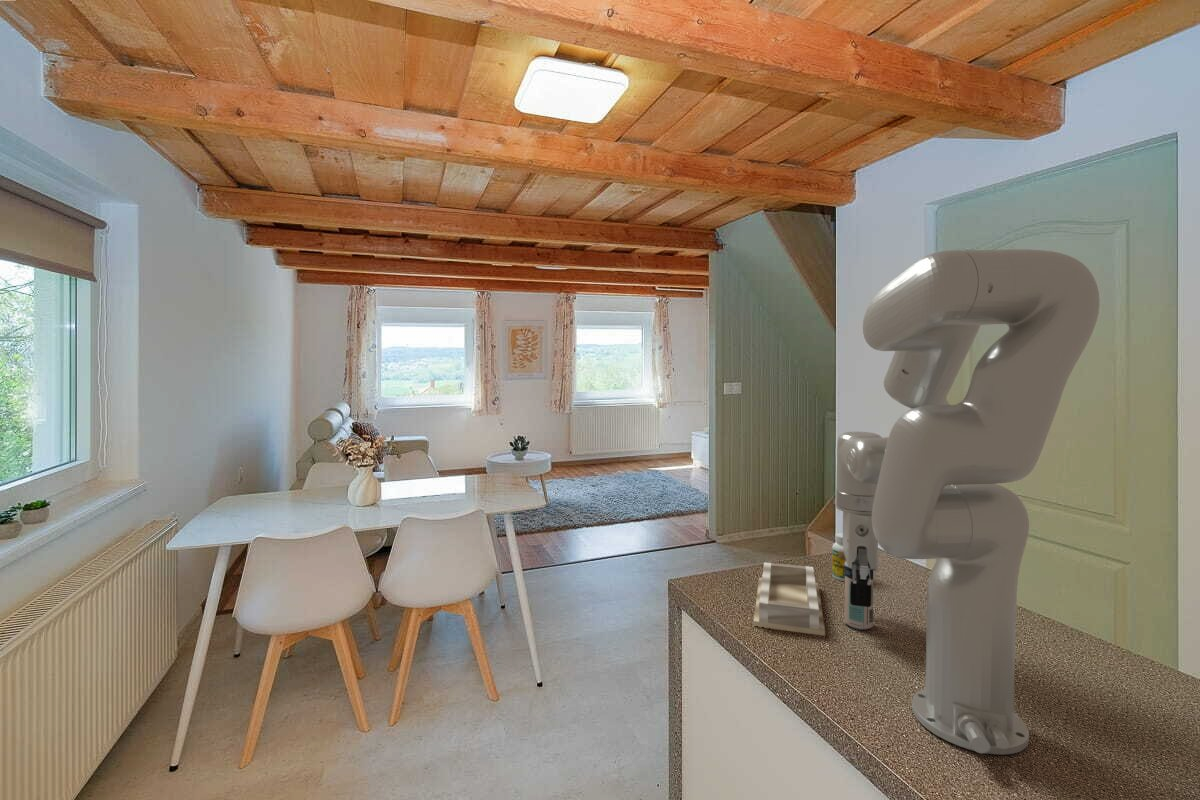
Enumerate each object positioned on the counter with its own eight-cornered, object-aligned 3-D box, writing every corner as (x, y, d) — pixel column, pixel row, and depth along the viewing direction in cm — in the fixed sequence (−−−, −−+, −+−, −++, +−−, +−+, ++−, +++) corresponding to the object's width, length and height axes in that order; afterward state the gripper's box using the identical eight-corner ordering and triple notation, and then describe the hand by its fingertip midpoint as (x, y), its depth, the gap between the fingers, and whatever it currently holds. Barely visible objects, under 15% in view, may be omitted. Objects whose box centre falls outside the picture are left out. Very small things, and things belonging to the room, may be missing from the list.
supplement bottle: (863, 579, 121) (864, 536, 121) (848, 584, 118) (849, 540, 118) (841, 571, 126) (842, 530, 125) (826, 576, 123) (827, 534, 122)
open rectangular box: (824, 635, 95) (825, 610, 95) (753, 626, 99) (753, 602, 99) (818, 588, 116) (818, 567, 116) (759, 582, 120) (759, 561, 120)
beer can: (867, 619, 101) (867, 555, 101) (877, 631, 97) (878, 564, 96) (840, 619, 102) (840, 555, 101) (849, 631, 97) (849, 564, 96)
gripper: (891, 516, 89) (888, 618, 90) (874, 491, 105) (872, 578, 107) (840, 512, 91) (838, 612, 93) (832, 488, 108) (831, 573, 109)
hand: (857, 593), depth 100 cm, fingers open, 9 cm apart
